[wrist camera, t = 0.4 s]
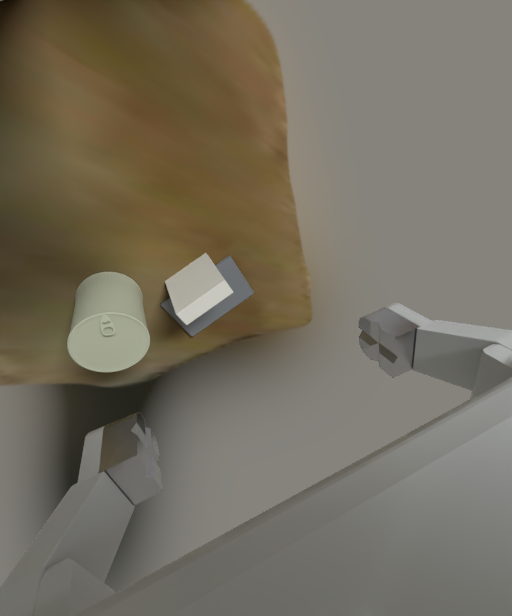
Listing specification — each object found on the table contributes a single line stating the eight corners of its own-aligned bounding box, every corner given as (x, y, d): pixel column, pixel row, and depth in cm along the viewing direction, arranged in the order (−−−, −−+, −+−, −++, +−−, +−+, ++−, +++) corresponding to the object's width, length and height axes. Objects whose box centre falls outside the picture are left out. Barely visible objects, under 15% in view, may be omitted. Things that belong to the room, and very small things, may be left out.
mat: (160, 303, 48) (160, 305, 48) (229, 255, 49) (230, 256, 48) (191, 335, 54) (192, 336, 54) (253, 291, 55) (254, 293, 54)
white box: (164, 281, 47) (175, 314, 39) (205, 252, 47) (224, 279, 39) (175, 292, 49) (187, 326, 41) (214, 265, 49) (234, 293, 41)
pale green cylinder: (137, 268, 44) (145, 308, 35) (146, 318, 49) (155, 366, 40) (67, 275, 41) (55, 322, 31) (83, 328, 46) (77, 383, 36)
